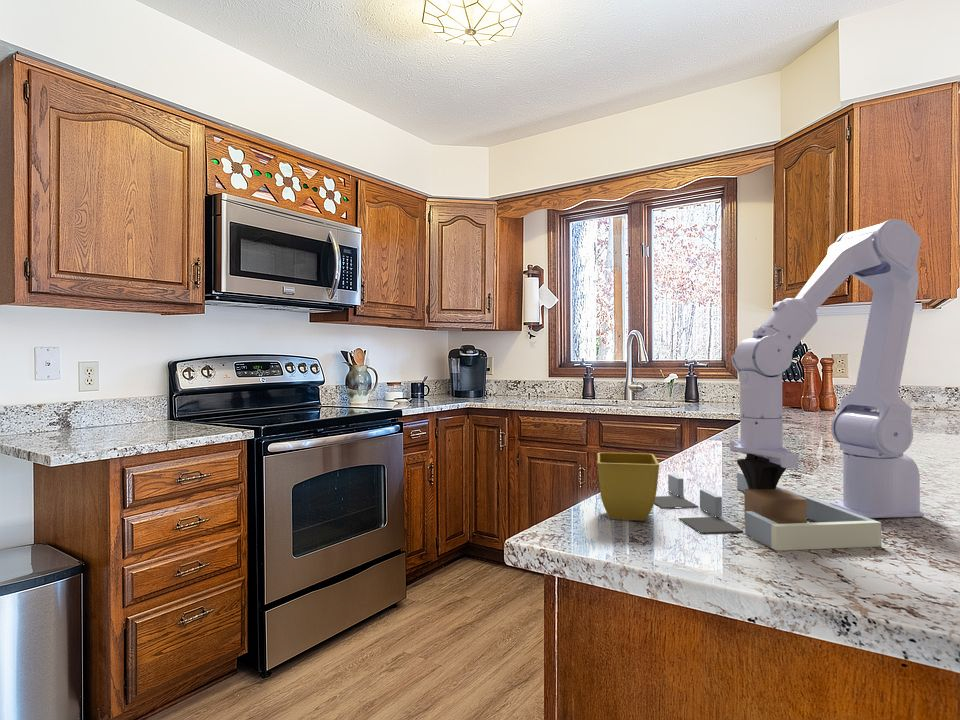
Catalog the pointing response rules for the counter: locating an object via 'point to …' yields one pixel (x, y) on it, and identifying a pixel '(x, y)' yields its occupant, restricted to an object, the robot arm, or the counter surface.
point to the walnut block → (776, 505)
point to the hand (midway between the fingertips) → (761, 507)
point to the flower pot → (628, 484)
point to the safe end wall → (825, 535)
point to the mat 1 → (672, 502)
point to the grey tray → (759, 524)
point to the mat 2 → (710, 525)
